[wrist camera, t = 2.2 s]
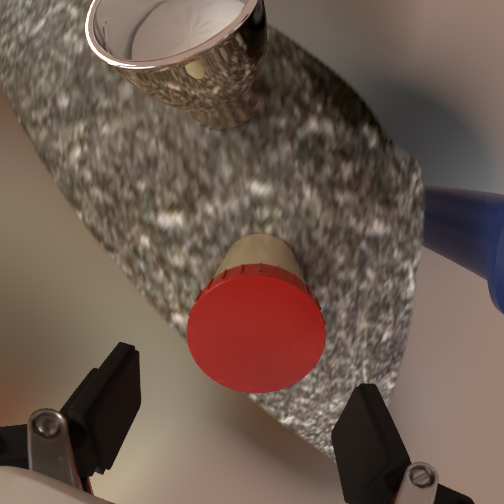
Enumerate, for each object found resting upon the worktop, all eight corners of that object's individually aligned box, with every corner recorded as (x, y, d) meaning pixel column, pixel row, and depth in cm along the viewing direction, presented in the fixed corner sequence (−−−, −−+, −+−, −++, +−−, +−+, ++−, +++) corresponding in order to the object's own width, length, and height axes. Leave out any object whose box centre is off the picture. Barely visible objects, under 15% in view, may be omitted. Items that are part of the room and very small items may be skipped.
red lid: (300, 243, 14) (305, 253, 13) (332, 354, 16) (339, 373, 14) (173, 285, 15) (162, 299, 13) (221, 383, 17) (217, 404, 15)
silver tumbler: (265, 57, 20) (263, -70, 5) (267, 134, 22) (270, 62, 7) (182, 63, 20) (98, -37, 6) (181, 138, 22) (68, 95, 7)
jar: (284, 222, 23) (299, 258, 13) (307, 293, 25) (331, 366, 15) (210, 248, 24) (173, 298, 14) (237, 314, 26) (221, 394, 15)
